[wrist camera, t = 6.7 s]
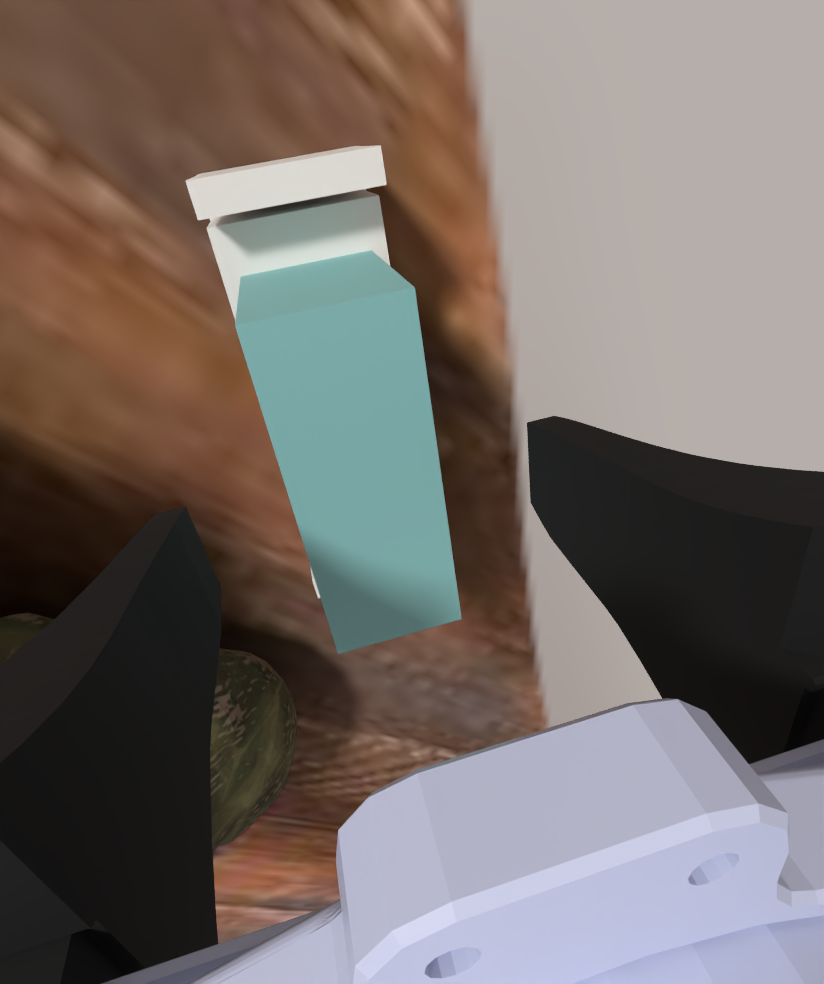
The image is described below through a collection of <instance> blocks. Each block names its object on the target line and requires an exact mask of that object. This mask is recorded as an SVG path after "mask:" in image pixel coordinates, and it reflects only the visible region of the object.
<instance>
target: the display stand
mask: <svg viewBox="0 0 824 984" xmlns="http://www.w3.org/2000/svg"><path fill="white" fill-rule="evenodd" d="M186 184H187V187H188V190H189V193H190V196H191V200H192V203H193V206H194V209H195V212H196V215H197V219H198V220H203V219H208V218H210V221H211V222H210V224H209V225H208V227H207V231H208V234H209V237H210V241H211V244H212V247H213V250H214V253H215V257H216V260H217V263H218V266H219V269H220V273H221V276H222V279H223V282H224V285H225V289H226V292H227V295H228V298H229V302H230V305H231V308H232V311H233V314H234V318H235V321H236V312H237V304H238V295H239V286H240V277H241V276H245V275H250V274H255V273H260V272H265V271H270V270H275V269H280V268H285V267H290V266H295V265H300V264H305V263H310V262H315V261H320V260H325V259H330V258H335V257H340V256H345V255H350V254H355V253H360V252H365V251H370V250H372V251H373V252H374V253H375V254H376V255H378V256H379V257H380V258H381V259H382V260H383V261H385V262H386V263H387V264H388V265H389V266H390V261H389V255H388V249H387V242H386V236H385V230H384V224H383V217H382V211H381V205H380V199H379V195H377V194H374V193H371V192H368V191H366V189H367V188H373V187H378V186H383V185H387V184H386V177H385V171H384V164H383V157H382V151H381V146H352V147H346V148H341V149H335V150H330V151H324V152H319V153H313V154H307V155H302V156H296V157H291V158H285V159H279V160H274V161H268V162H263V163H257V164H252V165H246V166H240V167H235V168H229V169H224V170H218V171H213V172H207V173H201V174H197V176H195V177H193V178H190V179H188V180H186ZM311 574H312V581H313V584H314V587H315V590H316V593H317V596H318V598H320V594H319V591H318V588H317V585H316V582H315V578H314V575H313V572H312V569H311Z"/></svg>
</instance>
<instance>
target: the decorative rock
mask: <svg viewBox="0 0 824 984" xmlns="http://www.w3.org/2000/svg"><path fill="white" fill-rule="evenodd" d="M53 620H54V619H51V618H47V617H44V616H40V615H37V614H33V613H21V614H13V615H9V616H5V617H2V618H0V664H2V663H3V662H4V661H6V660H7V659H8V658H10V657H11V656H12V655H13V654H15V653H16V652H17V651H18V650H19V649H21V648H22V647H23V646H24V645H25V644H27V643H28V642H29V641H30V640H31V639H33V638H34V637H35V636H36V635H37V634H38V633H40V632H41V631H42V630H43V629H44V628H45V627H46V626H48V625H49V624H50V623H51V622H52V621H53ZM296 733H297V715H296V709H295V704H294V700H293V697H292V694H291V692H290V691H289V689H288V687H287V685H286V683H285V682H284V680H283V679H282V678H281V677H280V676H279V675H278V674H277V673H276V671H275V670H274V669H273V668H272V667H271V666H270V665H269V664H268V663H267V662H266V661H264V660H263V659H261V658H259V657H257V656H255V655H254V654H252V653H248V652H243V651H238V650H229V649H220V650H219V660H218V669H217V678H216V687H215V697H214V706H213V715H212V725H211V743H210V772H211V821H212V852H214V851H215V850H216V848H217V847H218V846H220V845H223V844H226V843H228V842H231V841H233V840H234V839H236V838H237V837H238V836H240V835H241V834H242V833H243V832H244V831H245V830H246V829H247V828H248V827H249V826H250V825H251V824H252V823H254V822H255V821H256V820H257V819H258V818H259V817H260V816H261V815H262V814H263V813H264V812H265V811H266V810H267V809H268V808H269V807H270V806H271V804H272V803H273V802H274V801H275V800H276V799H277V797H278V796H279V794H280V793H281V791H282V789H283V787H284V785H285V783H286V781H287V778H288V774H289V770H290V766H291V764H292V760H293V757H294V752H295V743H296Z"/></svg>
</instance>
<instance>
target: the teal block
mask: <svg viewBox="0 0 824 984" xmlns="http://www.w3.org/2000/svg"><path fill="white" fill-rule="evenodd" d="M235 327H236V330H237V333H238V336H239V340H240V343H241V346H242V349H243V352H244V356H245V359H246V362H247V365H248V368H249V371H250V375H251V378H252V381H253V384H254V387H255V391H256V394H257V397H258V400H259V403H260V406H261V410H262V413H263V416H264V419H265V422H266V426H267V429H268V432H269V435H270V438H271V442H272V445H273V448H274V451H275V454H276V457H277V461H278V464H279V467H280V470H281V473H282V477H283V480H284V483H285V486H286V489H287V492H288V496H289V499H290V502H291V505H292V508H293V512H294V515H295V518H296V521H297V524H298V527H299V531H300V534H301V537H302V540H303V543H304V547H305V550H306V553H307V556H308V559H309V563H310V566H311V569H312V572H313V575H314V578H315V582H316V585H317V588H318V591H319V594H320V598H321V601H322V604H323V607H324V610H325V613H326V617H327V620H328V623H329V626H330V629H331V633H332V636H333V639H334V642H335V645H336V648H337V652H338V654H340V653H344V652H347V651H351V650H354V649H358V648H361V647H365V646H368V645H372V644H375V643H379V642H382V641H386V640H389V639H393V638H397V637H400V636H404V635H407V634H411V633H414V632H418V631H421V630H425V629H428V628H432V627H435V626H439V625H442V624H446V623H449V622H453V621H456V620H460V619H462V618H461V611H460V604H459V597H458V590H457V583H456V576H455V569H454V562H453V555H452V548H451V540H450V533H449V526H448V519H447V512H446V505H445V498H444V491H443V484H442V477H441V470H440V463H439V455H438V448H437V441H436V434H435V427H434V420H433V413H432V406H431V399H430V392H429V385H428V378H427V370H426V363H425V356H424V349H423V342H422V335H421V328H420V321H419V314H418V307H417V300H416V293H415V287H414V286H413V285H411V284H410V283H409V282H408V281H407V280H406V279H404V278H403V277H402V276H401V275H400V274H399V273H397V272H396V271H395V270H394V269H393V268H392V267H390V266H389V265H388V264H387V263H386V262H385V261H383V260H382V259H381V258H380V257H379V256H378V255H376V254H375V253H374V252H373V251H372V250H370V251H365V252H360V253H355V254H350V255H345V256H340V257H335V258H330V259H325V260H320V261H315V262H310V263H305V264H300V265H295V266H290V267H285V268H280V269H275V270H270V271H265V272H260V273H255V274H250V275H245V276H241V277H240V286H239V295H238V304H237V312H236V321H235Z"/></svg>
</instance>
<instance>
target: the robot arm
mask: <svg viewBox="0 0 824 984" xmlns="http://www.w3.org/2000/svg"><path fill="white" fill-rule="evenodd" d="M527 431H528V453H529V475H530V497H531V504H532V506H533V507H534V509H535V511H536V513H537V515H538V517H539V518H540V520H541V522H542V524H543V525H544V527H545V529H546V530H547V532H548V534H549V536H550V537H551V539H552V540H553V541H554V543H555V544H556V545H557V546H558V548H559V549H560V550H561V552H562V553H563V554H564V555H565V557H566V558H567V559H568V561H569V562H570V563H571V564H572V566H573V567H574V568H575V570H576V571H577V572H578V573H579V575H580V576H581V577H582V578H583V580H585V582H586V583H587V585H588V586H589V587H590V588H591V590H592V591H593V592H594V593H595V595H596V596H597V597H598V598H599V600H600V601H601V602H602V604H603V605H604V606H605V607H606V609H607V610H608V611H609V613H610V614H611V615H612V617H613V618H614V620H615V621H616V623H617V624H618V625H619V627H620V628H621V630H622V632H623V633H624V635H625V637H626V638H627V640H628V642H629V643H630V645H631V646H632V648H633V650H634V651H635V653H636V654H637V656H638V658H639V659H640V661H641V663H642V664H643V666H644V668H645V669H646V671H647V673H648V674H649V676H650V678H651V680H652V681H653V683H654V685H655V686H656V688H657V690H658V692H659V693H660V695H661V697H662V699H657V700H650V701H642V702H634V703H627V704H624V705H620V706H618V707H614V708H611V709H608V710H605V711H601V712H598V713H595V714H592V715H588V716H585V717H582V718H579V719H576V720H573V721H570V722H566V723H563V724H560V725H557V726H554V727H550V728H547V729H544V730H541V731H538V732H535V733H531V734H528V735H525V736H522V737H519V738H516V739H512V740H509V741H506V742H503V743H500V744H497V745H493V746H490V747H487V748H484V749H481V750H478V751H474V752H471V753H468V754H465V755H462V756H459V757H455V758H452V759H449V760H446V761H443V762H440V763H436V764H433V765H430V766H427V767H424V768H420V769H417V770H415V771H413V772H411V773H409V774H407V775H405V776H403V777H401V778H399V779H397V780H395V781H393V782H391V783H389V784H387V785H385V786H383V787H381V788H379V789H377V790H375V791H373V792H372V793H371V794H370V795H369V796H368V797H367V799H366V800H365V801H364V802H363V803H362V804H361V805H360V806H359V807H358V808H357V809H356V811H355V812H354V813H353V814H352V815H351V816H350V817H349V818H348V819H347V820H346V822H345V823H344V824H343V825H342V827H341V828H340V829H339V830H338V839H337V852H336V867H337V875H338V884H339V892H340V899H339V900H337V901H336V902H334V903H332V904H330V905H328V906H327V907H325V908H323V909H320V910H317V911H314V912H311V913H308V914H305V915H302V916H300V917H297V918H294V919H291V920H288V921H285V922H282V923H279V924H276V925H273V926H270V927H267V928H264V929H261V930H258V931H255V932H252V933H249V934H246V935H243V936H240V937H237V938H235V939H232V940H229V941H226V942H223V943H220V944H218V936H217V923H216V909H215V890H214V871H213V852H212V821H211V772H210V743H211V725H212V715H213V706H214V697H215V687H216V678H217V669H218V660H219V650H220V639H221V628H222V622H221V599H220V584H219V582H218V580H217V577H216V575H215V573H214V570H213V568H212V566H211V563H210V561H209V559H208V557H207V554H206V552H205V550H204V547H203V545H202V543H201V540H200V538H199V536H198V533H197V531H196V529H195V527H194V524H193V522H192V520H191V517H190V515H189V513H188V510H187V508H186V507H183V508H179V509H175V510H171V511H167V512H163V513H159V514H155V515H154V516H153V517H152V518H151V519H149V520H148V521H147V522H146V523H145V525H144V526H143V527H142V528H141V529H140V530H139V531H138V532H137V533H136V534H135V535H134V537H133V538H132V539H131V540H130V541H129V542H128V543H127V544H126V545H125V547H124V548H123V549H122V550H121V551H120V552H119V553H118V554H117V555H116V557H115V558H114V559H113V560H112V561H111V562H110V563H109V564H108V565H107V567H106V568H105V569H104V570H103V571H102V572H101V573H100V574H99V575H98V576H97V577H96V578H95V579H94V580H93V581H92V582H91V583H90V584H89V585H88V587H87V588H86V589H85V590H84V591H83V592H82V593H81V594H80V595H79V596H78V597H77V598H76V599H75V600H74V601H73V602H72V603H71V604H70V605H69V606H68V607H67V608H66V609H65V610H64V611H63V612H62V613H61V614H60V615H58V616H57V617H56V618H55V619H54V620H53V621H52V622H51V623H50V624H49V625H48V626H46V627H45V628H44V629H43V630H42V631H41V632H40V633H38V634H37V635H36V636H35V637H34V638H33V639H31V640H30V641H29V642H28V643H27V644H25V645H24V646H23V647H22V648H21V649H19V650H18V651H17V652H16V653H15V654H13V655H12V656H11V657H10V658H8V659H7V660H6V661H4V662H3V663H2V664H0V984H824V472H818V471H803V470H791V469H782V468H781V469H780V468H771V467H763V466H754V465H747V464H739V463H734V462H728V461H722V460H717V459H711V458H705V457H700V456H696V455H691V454H687V453H682V452H678V451H675V450H671V449H666V448H663V447H659V446H655V445H651V444H648V443H645V442H641V441H638V440H634V439H631V438H627V437H624V436H621V435H618V434H615V433H612V432H608V431H605V430H602V429H599V428H596V427H593V426H590V425H586V424H583V423H580V422H577V421H573V420H570V419H566V418H561V417H557V416H552V417H548V418H544V419H540V420H536V421H532V422H528V423H527Z"/></svg>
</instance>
